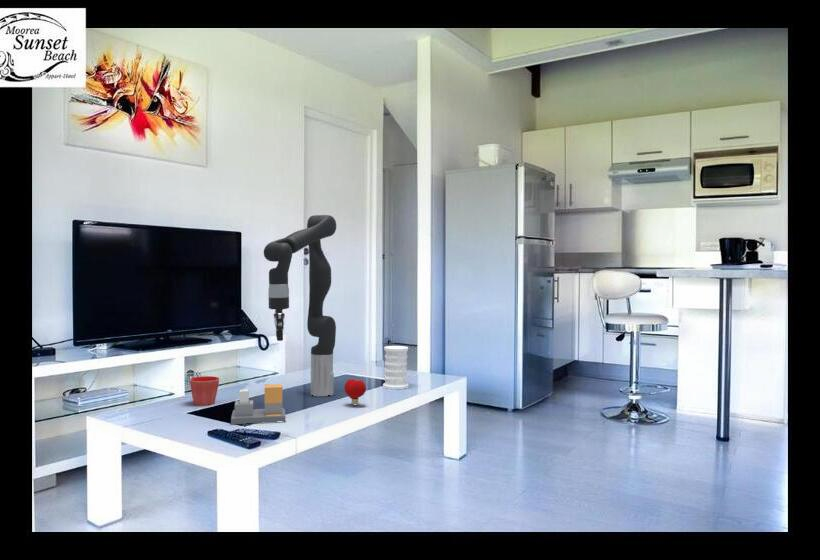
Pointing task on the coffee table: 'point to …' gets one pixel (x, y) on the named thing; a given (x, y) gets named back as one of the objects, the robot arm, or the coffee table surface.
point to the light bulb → (355, 389)
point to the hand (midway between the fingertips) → (279, 339)
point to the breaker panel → (257, 413)
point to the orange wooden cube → (273, 393)
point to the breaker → (244, 396)
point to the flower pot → (204, 389)
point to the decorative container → (396, 367)
